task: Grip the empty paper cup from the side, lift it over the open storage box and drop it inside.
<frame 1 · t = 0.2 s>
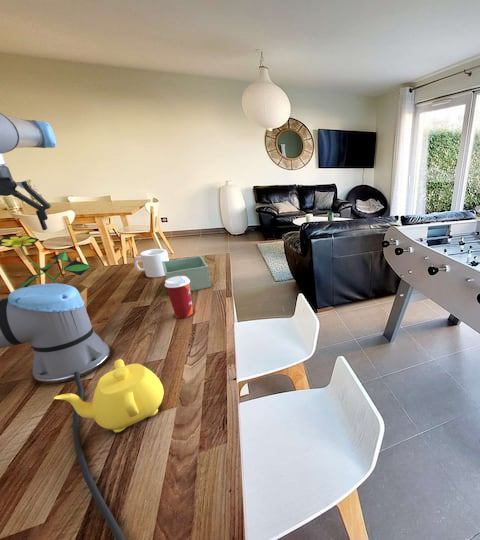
hand: (16, 231, 97), 28 cm above the breakfast bar, tool pointing down, fingers open, 13 cm apart
potted plant: (72, 318, 100), on the breakfast bar
mug: (156, 273, 137), on the breakfast bar
open storage box: (188, 284, 128), on the breakfast bar
teapot: (123, 417, 65), on the breakfast bar
paper cup: (184, 314, 105), on the breakfast bar
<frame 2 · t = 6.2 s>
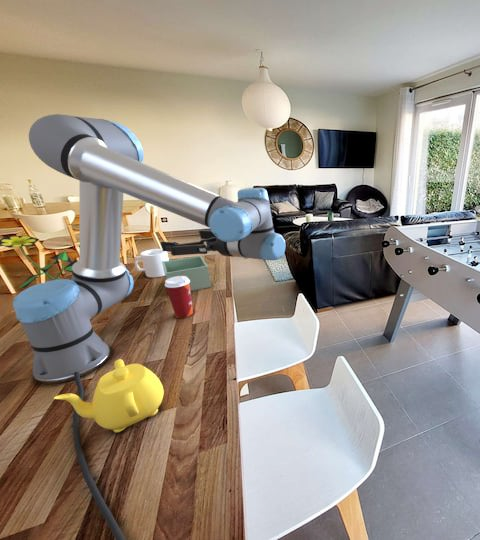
hand: (183, 240, 91), 30 cm above the breakfast bar, tool horizontal, fingers open, 13 cm apart
nothing on the breakfast bar moved.
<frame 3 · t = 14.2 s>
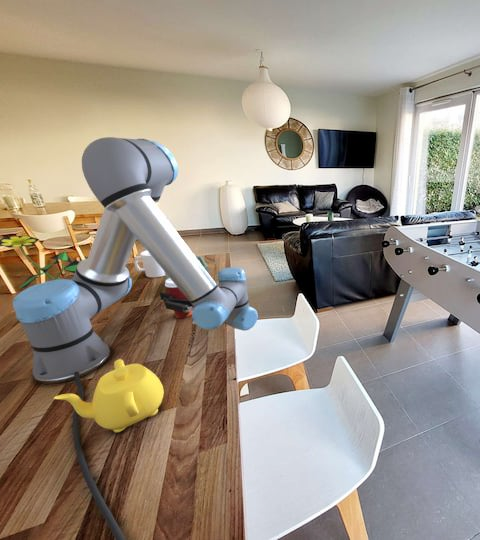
hand: (173, 291, 104), 8 cm above the breakfast bar, tool horizontal, fingers closed on paper cup, 8 cm apart
paper cup: (184, 314, 105), on the breakfast bar, touching gripper
everything else where it was.
when the fingers open (12 cm above the breakfast bar, at t = 23.8 s): paper cup drops 3 cm, resting on open storage box.
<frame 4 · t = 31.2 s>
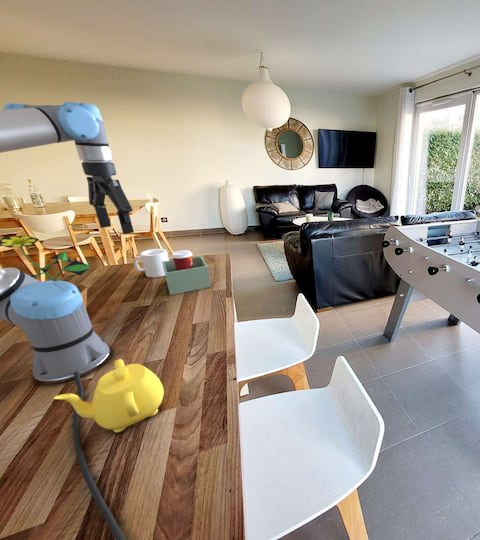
hand: (117, 230, 95), 31 cm above the breakfast bar, tool pointing down, fingers open, 13 cm apart
paper cup: (187, 282, 128), point 1 cm above the breakfast bar, touching open storage box
everything else where it was.
at the end: paper cup inside the target area in the open storage box (1.0 cm from its centre), point 0.6 cm above the open storage box's base; the gripper is holding nothing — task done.
